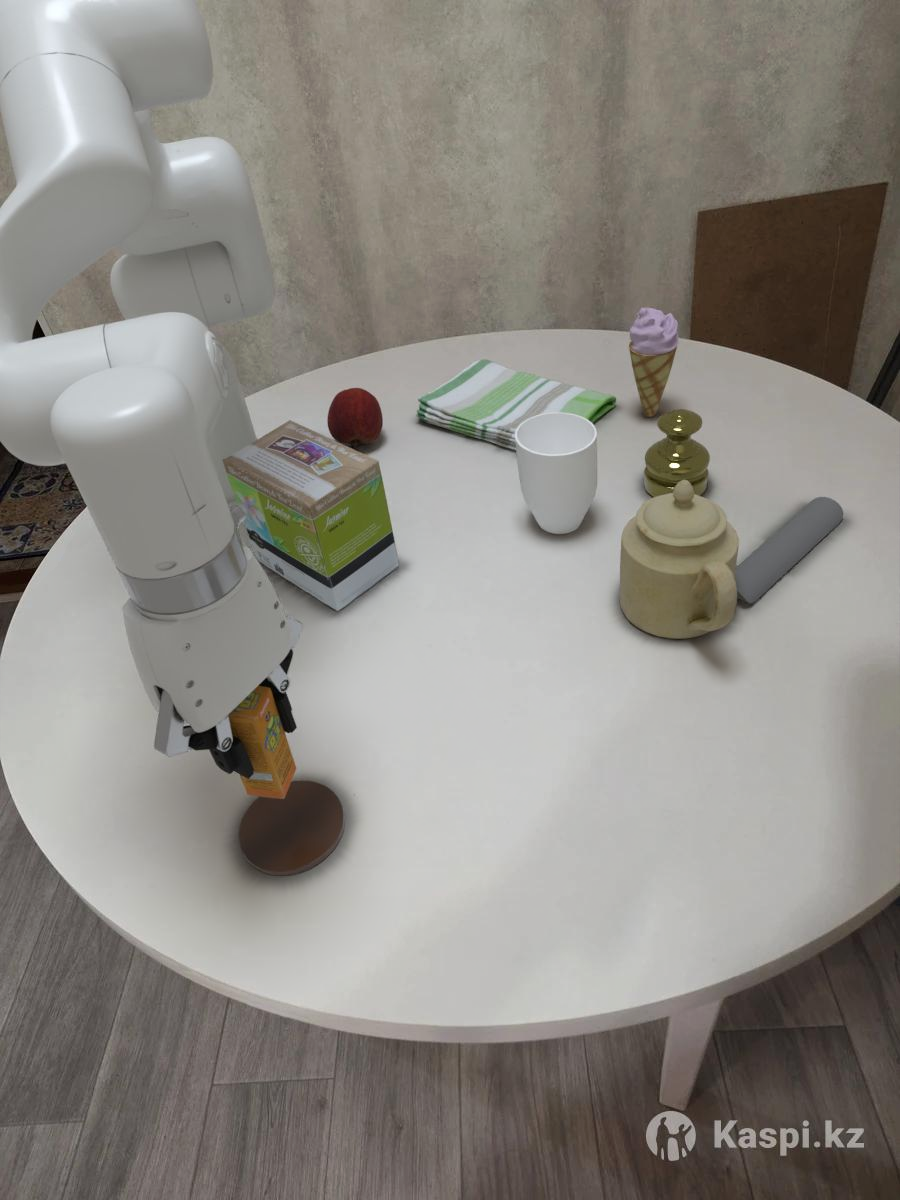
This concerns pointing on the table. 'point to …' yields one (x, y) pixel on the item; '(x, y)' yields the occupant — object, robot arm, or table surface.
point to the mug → (557, 468)
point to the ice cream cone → (652, 355)
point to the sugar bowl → (679, 566)
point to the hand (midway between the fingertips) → (258, 744)
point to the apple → (355, 417)
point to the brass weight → (676, 455)
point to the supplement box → (263, 744)
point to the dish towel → (504, 402)
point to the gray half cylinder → (786, 548)
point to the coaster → (292, 829)
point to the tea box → (314, 512)
